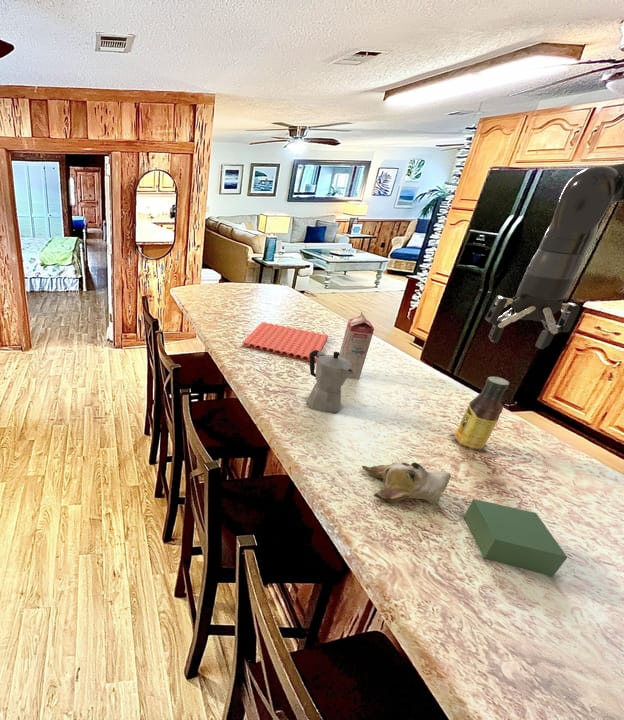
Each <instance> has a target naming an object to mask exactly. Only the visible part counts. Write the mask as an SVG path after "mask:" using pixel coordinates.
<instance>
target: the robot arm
mask: <svg viewBox="0 0 624 720" xmlns="http://www.w3.org/2000/svg"><path fill="white" fill-rule="evenodd" d="M619 202H624V163H623V162H622V163H619V164H617V163H616V164H611V165H597V166H592V167H588V168H585V169H583V170H581V171H579V172H577V173H576V174H574V175H573V176H572V177H571V178H569V180H568V181H567V183H566V184H565V185H564V187H563V190H562V191H561V194H560V197H559V200H558V202H557V205H556V208H555V210H554V214H553V217H552V220H551V222H550V225H548V228H547V229H546V231H545V233H544V236H543V237H542V240H541V241H540V244H539V246H538V249H537V250H536V252H535V254H533V257H532V258H531V260H530V262H529V263H528V266H527V267H526V270H525V273H524V275H523V277H522V280H521V281H520V284H519V286H518V288H517V291H516V294H515V295H514V296H513V297H512V298H510V297H504V296H502V295H496V297H495V298H494V300H493V301H492V304H491V305H490V307H489V309H488V312H487V314H486V315H485V317H484V319H485V321H487V322H488V323H489V324H491V325H492V327H491V329H490V331H489V334H488V338H489V341H490V342H491V343H493V344H498V343H499V341H500V339H501V336H502V334H503V331H504V330H505V327H506V326H508V325H510V324H511V323H515V322H517V321H518V320H521V321H534V322H541V323H542V326H543V328H544V330H542V331H541V332H540V334H539V336H538V338H537V341H536V342H535V347H536V348H537V349H540V350H544V349H545V348H547V347H549V346H550V344H551V342H552V341H553V339H554V336H555V335H556V334H558V333H569V332H570V331H571V329H572V327H573V325H574V323H575V321H576V319H577V317H578V314H579V312H580V310H581V306H580V305H578V304H576V303H575V302H567V303H563V301H564V299H566V298H567V295H568V294H569V292H570V289H571V288H572V286H573V283H574V281H575V280H576V278H577V277H578V274H579V272H580V270H581V268H582V266H583V263H584V260H585V257H586V254H587V253H588V251H589V249H590V247H591V245H592V243H593V241H594V239H595V237H596V235H597V232H598V228H599V225H600V222H602V219H603V217H604V216H605V214H606V213H607V210H608V209H609V207H610V205H611V203H619ZM509 305H510V306H511V308H510V309H508V310H506V311H505V312H503V310H504V309H505V308H507V307H508V306H509ZM559 311H560V312H561V315H560V317H559V319H558V321H556V320H555V317H554V315H555V314H556V313H557V312H559ZM502 312H503V314H502ZM501 314H502V315H501Z"/></svg>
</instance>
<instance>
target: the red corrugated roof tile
mask: <svg viewBox="0 0 624 720" xmlns="http://www.w3.org/2000/svg"><path fill="white" fill-rule="evenodd" d="M328 338H329V335H328V334H326V333H320V332H314V331H309V330H307V329H305V330H302V329H301V328H296V327H290V326H284V325H279V324H277V323H276V324H273V323H271V322H270V323H268V322H266V321H263V322H261V323H259V325H257V327H256V328H254V330H253V331H252V332H251V333H250V334H249V335H248V336H247V337H246V338H245V339H244V340H243V341H242V343H241V345H242V346H243V348H249V349H250V350H252V349H255V350H256V351H262V352H263V353H265V352H267V353H269V354H275V355H277V356H279V355H280V356H282V357H288V358H289V359H293V358H294V359H295V360H302V361H303V362H310V359H309V354H310V353H311V352H312V351H314V350H318V351H319V352H323V349H324V347H325V344H326V343H327V340H328ZM315 363H316V364H317V357H316V356H315V362H314V364H315Z"/></svg>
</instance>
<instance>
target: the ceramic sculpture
mask: <svg viewBox="0 0 624 720" xmlns="http://www.w3.org/2000/svg"><path fill="white" fill-rule="evenodd" d="M361 468H362V469H363V470H365V472H367V473H368V474H369V475H371V476H373V477H374V478H377V479H381V480H382V482H383V487H381V488H380V490H378V491H377V492H376V493H374V494H373V497H375V498H377V499H380V500H383V501H385V502H389V503H398V502H400V501H403V500H406V499H421V500H425V501H426V502H428V503H430V504H433V505H434V504H436V503H437V504H438V502H439V501H440V498H441V496H442V494H443V493H444V492H445V491H446V489H447V487H448V485H449V483H450V479H451V477H452V474H451V473H450V472H444V471H442V470H438V469H426V468H425V467H424V466H423V465H421V463H418V462H411V463H407V462H393V463H390V464H385V465H384V464H380V465H379V464H378V465H374V466H367V465H362V466H361Z"/></svg>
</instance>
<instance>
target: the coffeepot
mask: <svg viewBox="0 0 624 720" xmlns="http://www.w3.org/2000/svg"><path fill="white" fill-rule="evenodd" d="M339 354H340V351H333V354H326V353H324V352H323V351H321V352H319V351H318V350H314V351H312V352H311V353H310V354H309V359H310V361H309V372H310V375H311V376H312V377H314V378H315V380H316V383H315V384H314V385H313V388H312V389H311V392H310V394H309V396H308V398H307V401H306V404H307V406H308V407H309V408H310V409H311V410H312V411H317V412H323V413H328V414H329V413H330V414H337V413H338V412H339V410H340V409H341V400H342V390H341V389H342V386H343V385H344V384H345V382H346V380H347V379H348V378H347V377H348V376H350V375H351V374H354V373H355V371H354V370H353V369H352V368H351V367H352V365H353V364H352V363H350V362H349V361H348V360H347V359H345V358H342V357H339ZM315 356H316V357H317V361H316V365H315V363H314V362H315Z"/></svg>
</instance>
